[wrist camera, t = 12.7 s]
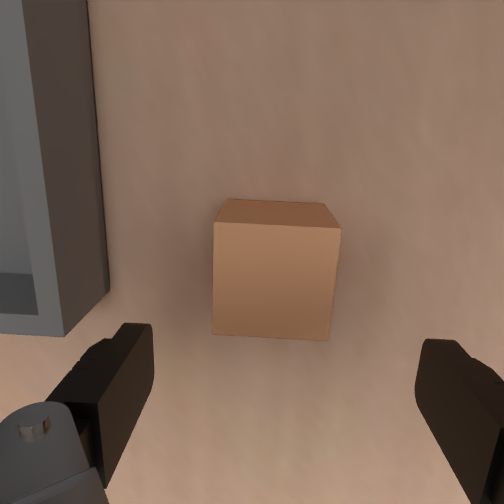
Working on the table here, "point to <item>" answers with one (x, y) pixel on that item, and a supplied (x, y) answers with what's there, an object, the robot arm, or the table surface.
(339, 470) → the table surface
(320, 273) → the cube
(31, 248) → the tote
